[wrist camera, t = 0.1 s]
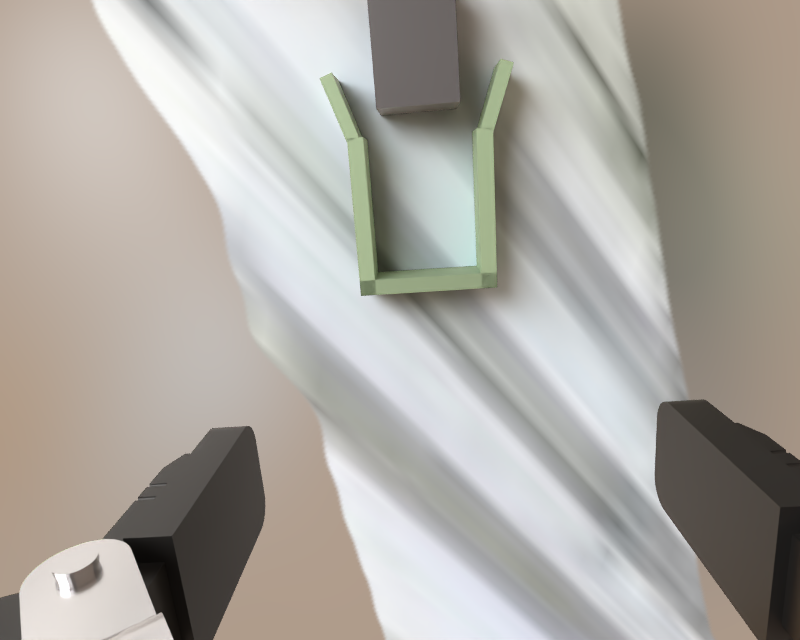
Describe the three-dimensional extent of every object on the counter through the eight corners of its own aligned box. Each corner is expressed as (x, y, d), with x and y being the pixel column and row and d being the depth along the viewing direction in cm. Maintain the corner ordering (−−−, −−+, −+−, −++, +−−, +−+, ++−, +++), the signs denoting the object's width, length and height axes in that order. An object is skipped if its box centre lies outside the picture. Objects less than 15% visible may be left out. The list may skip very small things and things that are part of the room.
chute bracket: (327, 81, 37) (319, 73, 34) (506, 66, 36) (513, 57, 33) (346, 287, 40) (341, 297, 37) (510, 277, 39) (517, 286, 37)
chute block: (371, -1, 35) (365, -23, 32) (450, -9, 35) (453, -32, 31) (380, 115, 37) (376, 108, 33) (456, 109, 37) (460, 101, 33)
